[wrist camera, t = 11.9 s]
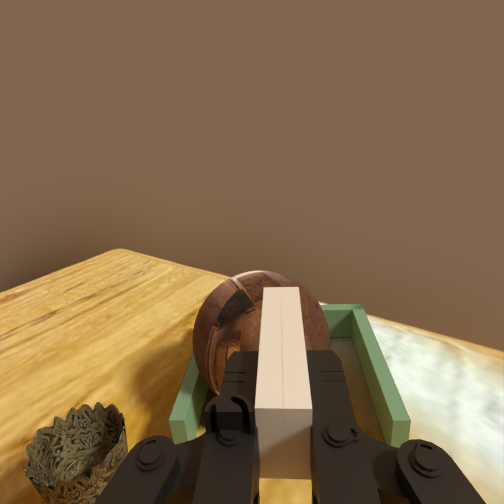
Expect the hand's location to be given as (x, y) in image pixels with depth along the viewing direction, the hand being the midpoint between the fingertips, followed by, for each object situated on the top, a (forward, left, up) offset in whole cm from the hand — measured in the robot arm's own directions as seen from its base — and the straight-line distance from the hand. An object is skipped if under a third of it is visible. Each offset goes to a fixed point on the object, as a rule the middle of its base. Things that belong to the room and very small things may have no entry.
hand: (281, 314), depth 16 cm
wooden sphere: (-11, +16, -23) cm, 30 cm away
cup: (-18, -2, -23) cm, 29 cm away
